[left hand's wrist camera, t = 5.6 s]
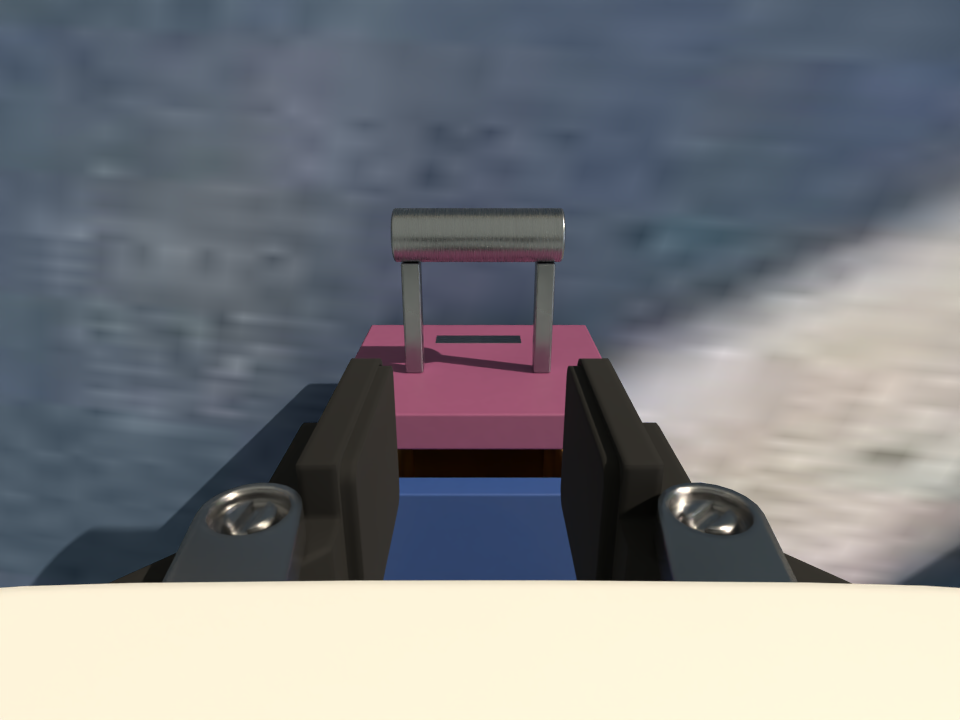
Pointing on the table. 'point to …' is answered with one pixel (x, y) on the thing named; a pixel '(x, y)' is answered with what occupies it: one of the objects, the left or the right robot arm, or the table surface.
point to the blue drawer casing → (479, 530)
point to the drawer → (479, 352)
